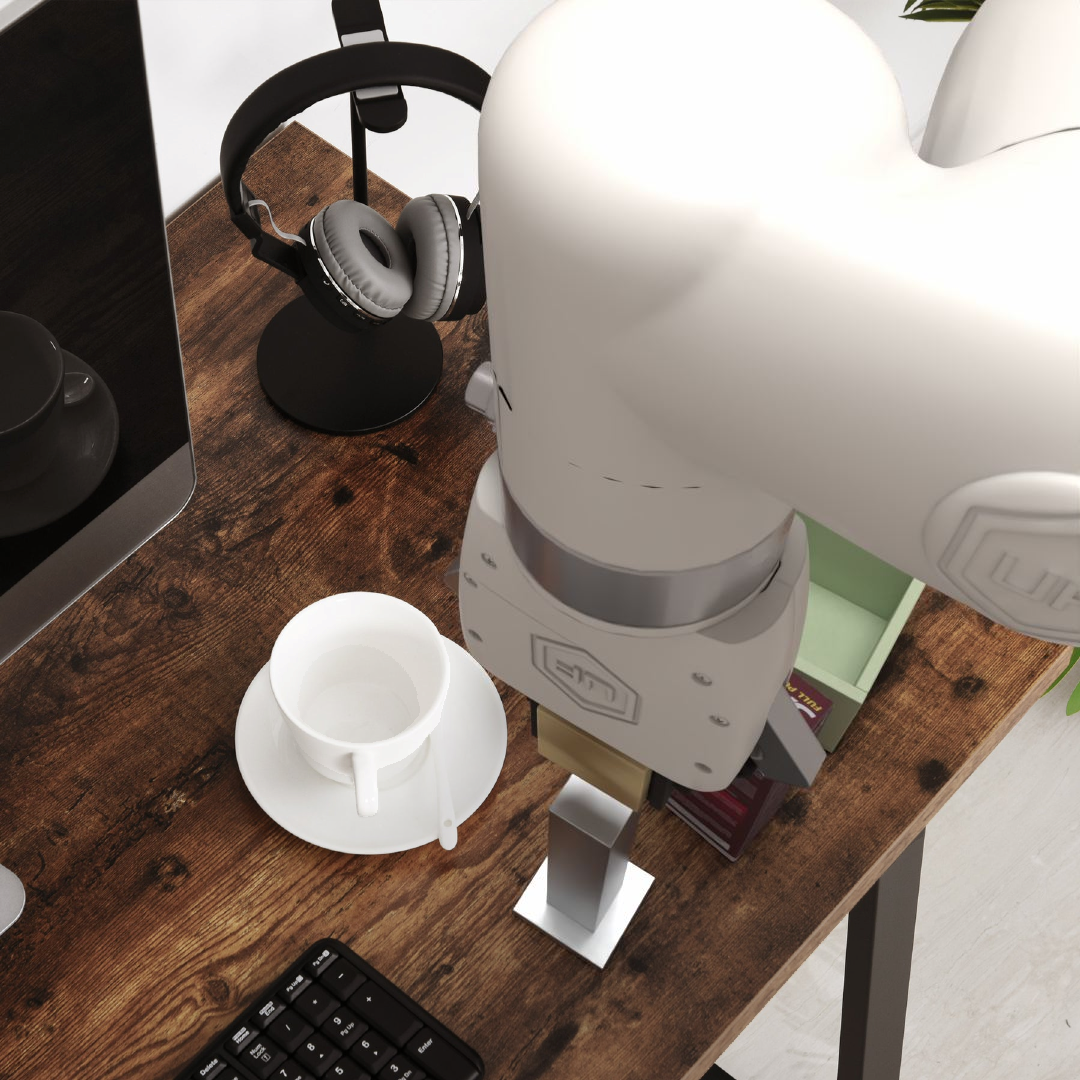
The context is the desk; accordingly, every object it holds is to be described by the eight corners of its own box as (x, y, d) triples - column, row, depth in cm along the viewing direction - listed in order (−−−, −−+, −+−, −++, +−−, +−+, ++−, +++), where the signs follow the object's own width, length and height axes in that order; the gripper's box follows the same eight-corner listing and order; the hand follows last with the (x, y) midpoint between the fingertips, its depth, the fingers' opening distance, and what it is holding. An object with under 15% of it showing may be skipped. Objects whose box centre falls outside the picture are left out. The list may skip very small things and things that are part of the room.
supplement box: (781, 806, 69) (842, 703, 56) (733, 865, 67) (782, 774, 54) (670, 715, 72) (701, 597, 59) (620, 770, 70) (640, 661, 57)
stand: (654, 881, 67) (689, 779, 51) (601, 973, 64) (621, 894, 49) (567, 827, 69) (575, 711, 53) (512, 913, 66) (504, 819, 50)
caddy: (900, 623, 76) (936, 565, 69) (831, 753, 71) (862, 704, 64) (730, 534, 79) (748, 471, 72) (654, 653, 74) (665, 596, 68)
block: (693, 719, 45) (706, 672, 41) (636, 813, 43) (644, 773, 39) (596, 664, 46) (600, 614, 42) (537, 753, 44) (535, 708, 40)
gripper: (295, 439, 30) (384, 710, 46) (897, 771, 25) (766, 947, 41) (458, 261, 33) (489, 571, 49) (1020, 524, 28) (854, 775, 44)
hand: (615, 740), depth 45 cm, fingers closed on block, 4 cm apart
